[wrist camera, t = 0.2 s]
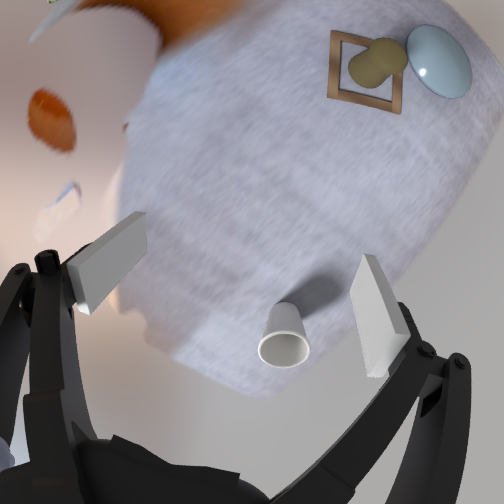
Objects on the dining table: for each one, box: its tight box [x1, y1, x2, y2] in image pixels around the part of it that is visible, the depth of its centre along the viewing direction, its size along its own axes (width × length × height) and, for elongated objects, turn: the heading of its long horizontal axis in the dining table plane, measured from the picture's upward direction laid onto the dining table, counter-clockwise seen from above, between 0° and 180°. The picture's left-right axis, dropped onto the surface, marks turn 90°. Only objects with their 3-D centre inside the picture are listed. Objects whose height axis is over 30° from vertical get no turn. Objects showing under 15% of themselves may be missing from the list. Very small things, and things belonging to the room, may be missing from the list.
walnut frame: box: [327, 30, 402, 114], centre depth 31 cm, size 12×12×1 cm
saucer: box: [406, 25, 472, 98], centre depth 28 cm, size 14×14×1 cm
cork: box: [348, 37, 408, 88], centre depth 27 cm, size 6×6×11 cm
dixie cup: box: [258, 302, 311, 368], centre depth 45 cm, size 8×8×10 cm
